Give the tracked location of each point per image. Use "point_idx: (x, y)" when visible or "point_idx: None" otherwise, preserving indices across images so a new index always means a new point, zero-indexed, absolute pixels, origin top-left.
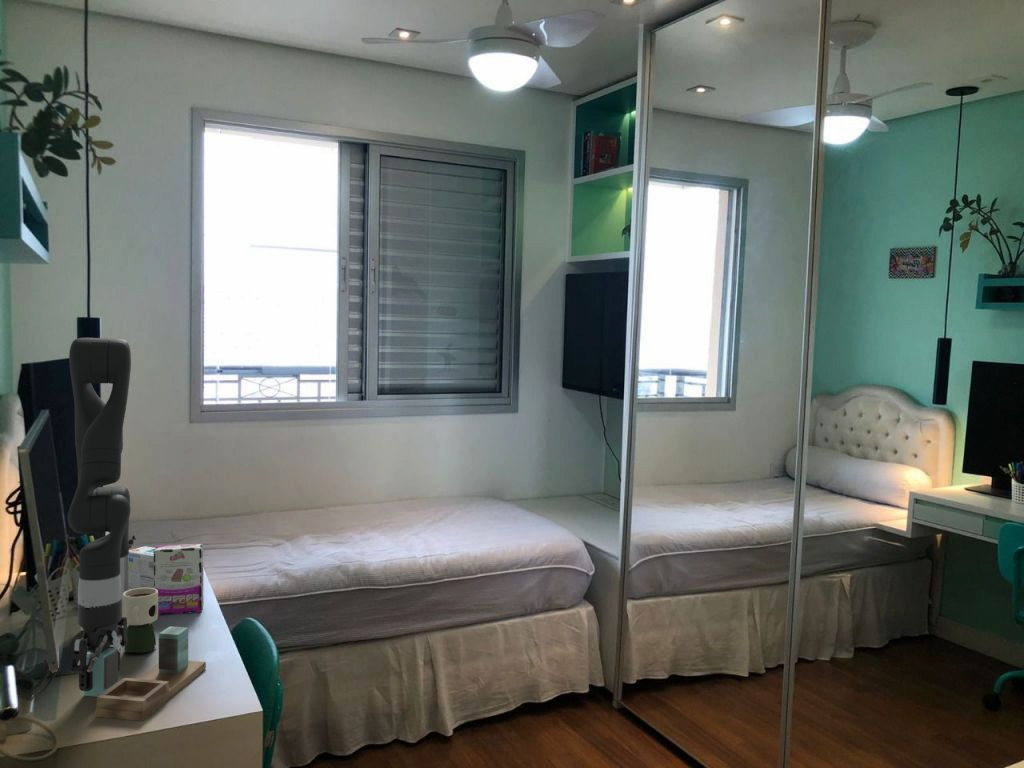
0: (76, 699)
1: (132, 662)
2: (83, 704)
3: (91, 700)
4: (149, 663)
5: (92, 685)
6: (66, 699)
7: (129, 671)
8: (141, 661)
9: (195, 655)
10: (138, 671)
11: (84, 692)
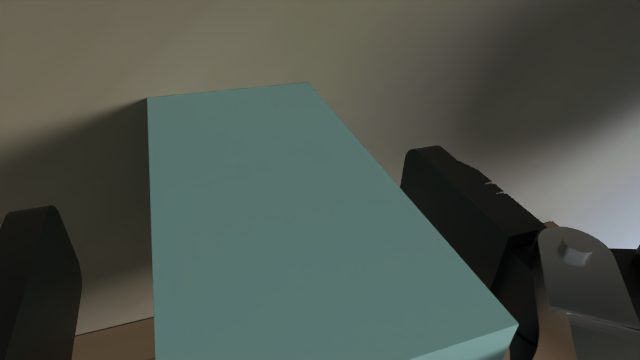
0: (59, 93)
1: (634, 49)
2: (16, 199)
3: (100, 200)
4: (595, 143)
5: (75, 307)
6: (11, 7)
7: (518, 117)
8: (632, 89)
9: (623, 247)
10: (511, 159)
11: (148, 112)
